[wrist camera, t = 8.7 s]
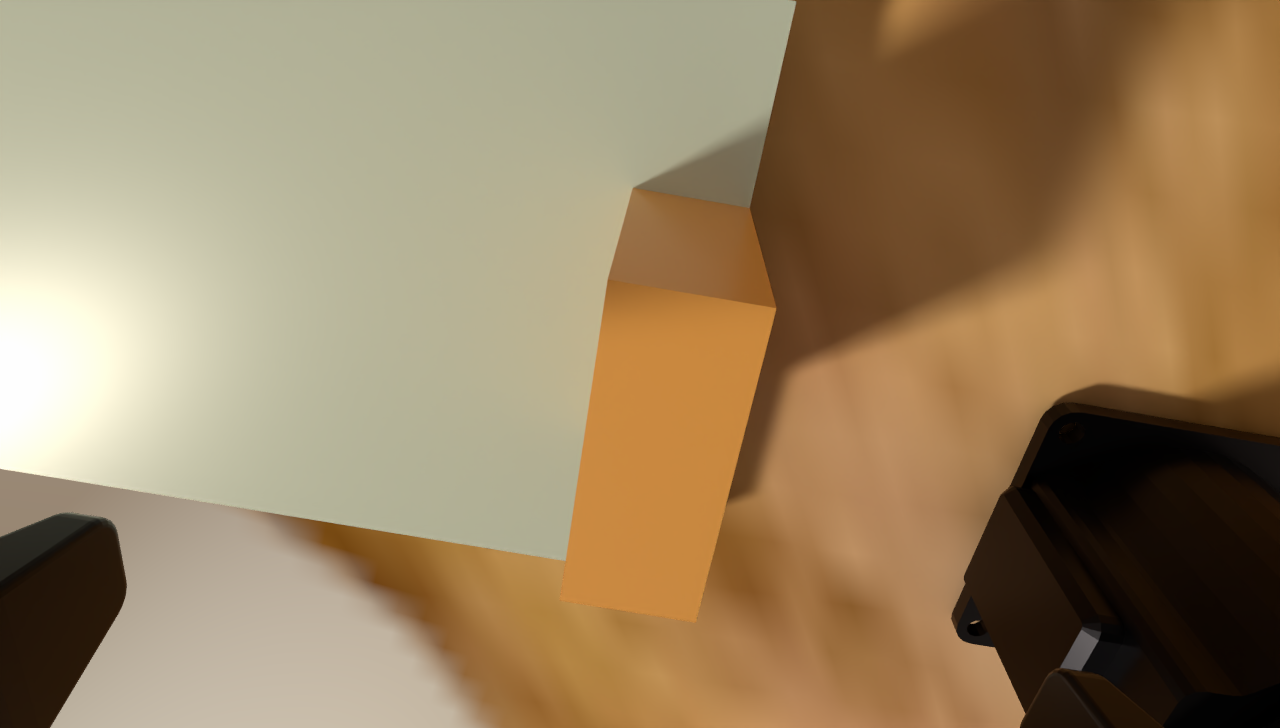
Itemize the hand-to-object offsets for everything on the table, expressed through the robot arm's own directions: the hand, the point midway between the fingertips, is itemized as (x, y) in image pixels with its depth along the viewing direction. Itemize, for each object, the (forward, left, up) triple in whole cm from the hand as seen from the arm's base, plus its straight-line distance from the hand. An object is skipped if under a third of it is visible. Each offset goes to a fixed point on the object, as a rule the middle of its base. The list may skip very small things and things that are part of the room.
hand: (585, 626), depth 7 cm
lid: (+7, 0, -9) cm, 11 cm away
